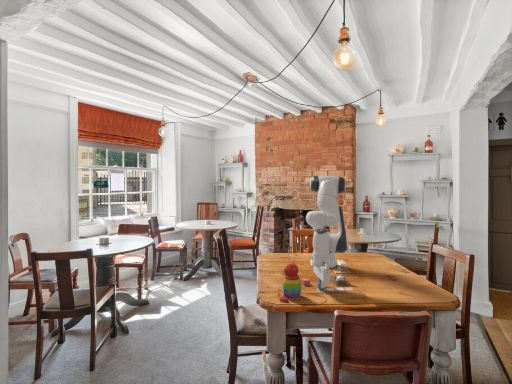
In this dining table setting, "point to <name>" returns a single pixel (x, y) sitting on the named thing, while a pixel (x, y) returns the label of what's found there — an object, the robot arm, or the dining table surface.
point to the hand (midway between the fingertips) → (321, 285)
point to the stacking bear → (291, 283)
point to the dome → (339, 278)
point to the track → (337, 289)
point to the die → (305, 282)
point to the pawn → (320, 285)
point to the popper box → (340, 281)
